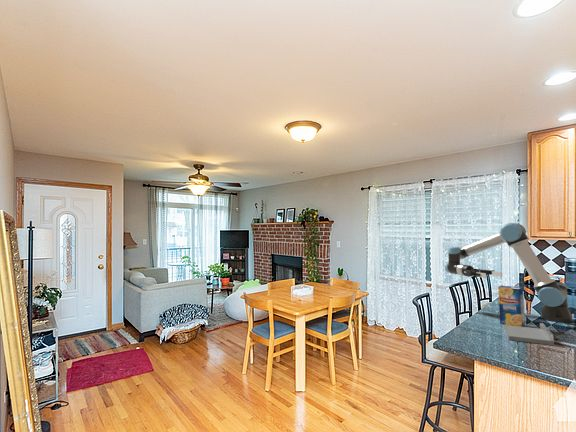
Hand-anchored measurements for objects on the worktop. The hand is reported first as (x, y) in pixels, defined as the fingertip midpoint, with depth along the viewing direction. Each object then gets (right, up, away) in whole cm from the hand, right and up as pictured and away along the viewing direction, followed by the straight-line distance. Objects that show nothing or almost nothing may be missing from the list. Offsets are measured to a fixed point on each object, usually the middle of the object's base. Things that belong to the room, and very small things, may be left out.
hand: (493, 275), depth 201 cm
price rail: (+3, -24, -37) cm, 44 cm away
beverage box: (+3, -27, -12) cm, 30 cm away
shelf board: (-4, -26, -33) cm, 43 cm away
